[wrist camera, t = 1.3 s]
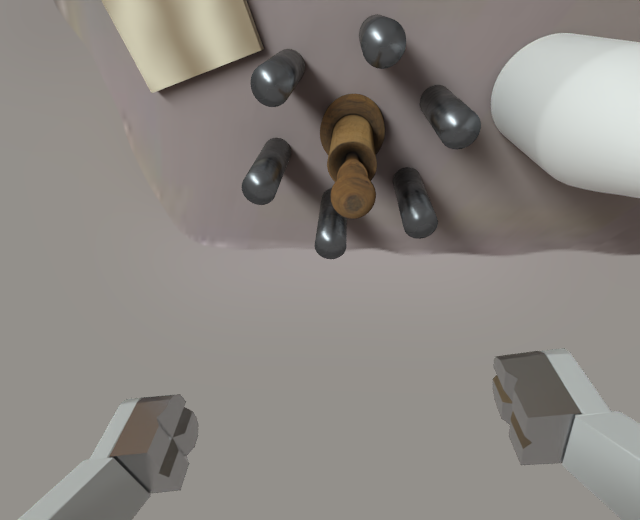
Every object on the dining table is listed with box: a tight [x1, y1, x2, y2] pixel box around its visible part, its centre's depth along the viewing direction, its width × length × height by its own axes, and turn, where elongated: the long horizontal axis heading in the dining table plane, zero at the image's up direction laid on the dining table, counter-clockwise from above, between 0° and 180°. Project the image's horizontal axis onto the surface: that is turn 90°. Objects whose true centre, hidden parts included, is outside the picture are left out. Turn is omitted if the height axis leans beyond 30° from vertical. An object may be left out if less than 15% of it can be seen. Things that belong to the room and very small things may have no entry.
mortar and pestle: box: [320, 94, 385, 219], centre depth 31 cm, size 7×6×18 cm
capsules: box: [242, 15, 481, 259], centre depth 34 cm, size 20×18×10 cm
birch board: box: [102, 0, 264, 93], centre depth 33 cm, size 12×11×1 cm
